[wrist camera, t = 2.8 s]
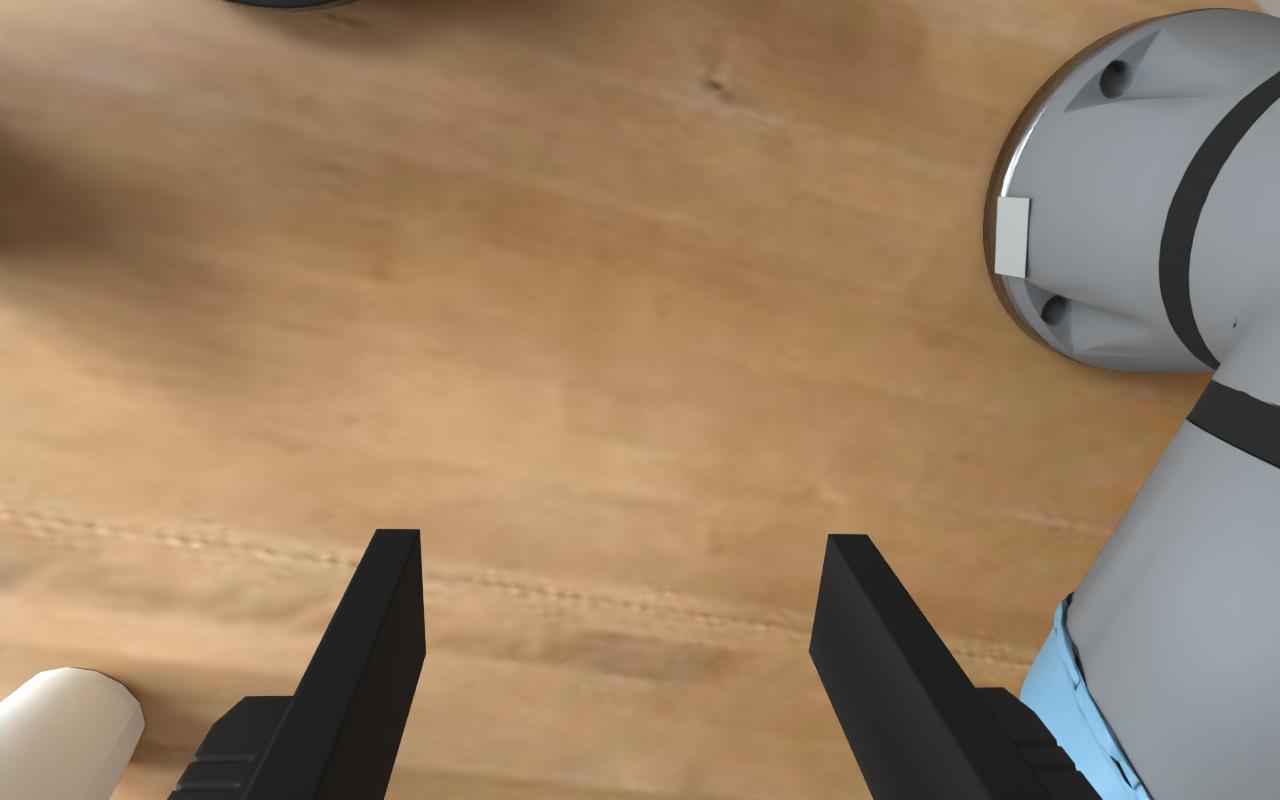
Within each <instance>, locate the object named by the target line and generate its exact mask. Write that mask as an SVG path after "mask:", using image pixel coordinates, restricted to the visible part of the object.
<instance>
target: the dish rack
mask: <svg viewBox="0 0 1280 800" xmlns="http://www.w3.org/2000/svg"><path fill="white" fill-rule="evenodd" d="M223 1H226V2H229V3H232V4H235V5H240V6H245V7H250V8H256V9H261V10H266V11H284V12H303V11H314V10H325V9H329V8H333V7H337V6H341V5H345V4H349V3H353V2H355V1H358V0H223Z"/></svg>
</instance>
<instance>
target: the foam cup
mask: <svg viewBox="0 0 1280 800" xmlns="http://www.w3.org/2000/svg"><path fill="white" fill-rule="evenodd" d="M144 727H145V721H144V717H143V714H142V710H141V706H140V703H139V702H138V701H137V700H136V699H135V697H134V696H133V695H132V694H131V693H130V692H129V691H128V690H127V689H126V688H125V686H124V685H123V684H121V683H119V682H117V681H115V680H113V679H111V678H109V677H107V676H105V675H103V674H101V673H99V672H97V671H91V670H84V669H77V668H70V667H64V668H60V669H55V670H50V671H46V672H41V673H39V674H37V675H36V676H35V677H33V678H32V679H31V680H29V681H28V682H26V683H25V684H24V685H23V686H21V687H20V688H19V689H18V690H16V691H15V692H14V693H12V694H11V695H10V696H9V697H7V698H6V699H5V700H3V701H2V702H1V703H0V800H109V799H110V798H111V796H112V794H113V792H114V790H115V788H116V786H117V784H118V782H119V780H120V778H121V776H122V774H123V772H124V770H125V768H126V767H127V765H128V763H129V761H130V759H131V757H132V755H133V753H134V750H135V747H136V746H137V744H138V742H139V740H140V737H141V734H142V732H143V729H144Z"/></svg>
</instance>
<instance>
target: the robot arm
mask: <svg viewBox="0 0 1280 800" xmlns="http://www.w3.org/2000/svg"><path fill="white" fill-rule="evenodd" d="M983 243H984V251H985V259H986V263H987V268H988V272H989V276H990V279H991V282H992V284H993V287H994V290H995V292H996V294H997V296H998V298H999V300H1000V302H1001V303H1002V305H1003V307H1004V308H1005V310H1006V311H1007V313H1008V314H1009V316H1010V317H1011V318H1012V319H1013V320H1014V322H1015V323H1016V324H1017V325H1018V326H1019V327H1020V328H1021V329H1022V330H1023V331H1024V332H1025V333H1026V334H1028V335H1029V336H1030V337H1031V338H1033V339H1034V340H1035V341H1037V342H1038V343H1040V344H1042V345H1044V346H1045V347H1047V348H1049V349H1051V350H1053V351H1055V352H1057V353H1059V354H1061V355H1064V356H1066V357H1068V358H1070V359H1072V360H1075V361H1077V362H1079V363H1082V364H1085V365H1088V366H1092V367H1096V368H1101V369H1106V370H1113V371H1120V372H1131V373H1193V374H1214V375H1213V377H1212V380H1211V381H1210V383H1209V384H1208V386H1207V387H1206V389H1205V391H1204V392H1203V394H1202V395H1201V397H1200V398H1199V400H1198V402H1197V403H1196V405H1195V406H1194V408H1193V409H1192V411H1191V413H1190V414H1189V415H1188V416H1187V418H1186V419H1185V421H1184V423H1183V424H1182V426H1181V427H1180V429H1179V430H1178V432H1177V433H1176V435H1175V437H1174V438H1173V440H1172V441H1171V443H1170V444H1169V446H1168V447H1167V449H1166V451H1165V452H1164V454H1163V455H1162V457H1161V458H1160V460H1159V461H1158V463H1157V465H1156V466H1155V468H1154V469H1153V471H1152V472H1151V474H1150V476H1149V477H1148V479H1147V480H1146V482H1145V483H1144V485H1143V486H1142V488H1141V490H1140V491H1139V493H1138V494H1137V496H1136V497H1135V499H1134V500H1133V502H1132V504H1131V505H1130V507H1129V508H1128V510H1127V511H1126V513H1125V514H1124V516H1123V518H1122V519H1121V521H1120V522H1119V524H1118V525H1117V527H1116V528H1115V530H1114V532H1113V533H1112V535H1111V536H1110V538H1109V539H1108V541H1107V542H1106V544H1105V546H1104V547H1103V549H1102V550H1101V552H1100V553H1099V555H1098V556H1097V558H1096V560H1095V561H1094V563H1093V564H1092V566H1091V567H1090V569H1089V570H1088V572H1087V574H1086V575H1085V577H1084V578H1083V580H1082V581H1081V583H1080V584H1079V586H1078V588H1077V589H1076V591H1075V592H1072V593H1070V594H1069V595H1068V596H1067V598H1066V599H1064V600H1062V601H1061V603H1060V604H1059V606H1058V607H1057V609H1056V613H1055V616H1054V627H1053V629H1052V631H1051V632H1050V634H1049V636H1048V638H1047V640H1046V641H1045V643H1044V645H1043V647H1042V649H1041V650H1040V652H1039V654H1038V656H1037V658H1036V659H1035V661H1034V663H1033V665H1032V667H1031V668H1030V670H1029V672H1028V674H1027V676H1026V678H1025V680H1024V683H1023V686H1022V689H1021V693H1020V699H1017V698H1016V697H1015V696H1014V695H1012V694H1011V693H1010V692H1008V691H1007V690H1006V689H1004V688H1003V687H997V688H975V687H974V686H973V684H972V683H971V681H970V680H969V678H968V677H967V676H966V674H965V673H964V671H963V670H962V668H961V667H960V666H959V664H958V663H957V661H956V660H955V659H954V657H953V656H952V654H951V653H950V651H949V650H948V649H947V647H946V646H945V644H944V643H943V642H942V640H941V639H940V637H939V636H938V634H937V633H936V632H935V630H934V629H933V627H932V626H931V625H930V623H929V622H928V620H927V619H926V617H925V616H924V615H923V613H922V612H921V610H920V609H919V608H918V606H917V605H916V603H915V602H914V600H913V599H912V598H911V596H910V595H909V593H908V592H907V590H906V589H905V588H904V586H903V585H902V583H901V582H900V581H899V579H898V578H897V576H896V575H895V573H894V572H893V571H892V569H891V568H890V566H889V565H888V564H887V562H886V561H885V559H884V558H883V556H882V555H881V554H880V552H879V551H878V549H877V548H876V547H875V545H874V544H873V542H872V541H871V539H870V538H869V537H868V535H866V534H828V540H827V546H826V552H825V558H824V564H823V570H822V576H821V582H820V588H819V594H818V600H817V606H816V612H815V618H814V624H813V630H812V636H811V642H810V648H809V653H810V655H811V658H812V660H813V662H814V665H815V667H816V669H817V671H818V674H819V676H820V678H821V681H822V683H823V685H824V687H825V690H826V692H827V694H828V697H829V699H830V701H831V703H832V706H833V708H834V710H835V713H836V715H837V717H838V719H839V722H840V724H841V726H842V729H843V731H844V733H845V735H846V738H847V740H848V742H849V745H850V747H851V749H852V751H853V754H854V756H855V758H856V761H857V763H858V765H859V767H860V770H861V772H862V774H863V777H864V779H865V781H866V783H867V786H868V788H869V790H870V793H871V795H872V797H873V799H874V800H1280V18H1278V17H1274V16H1271V15H1267V14H1263V13H1259V12H1254V11H1246V10H1236V9H1227V8H1208V9H1197V10H1190V11H1185V12H1180V13H1174V14H1169V15H1164V16H1159V17H1154V18H1149V19H1146V20H1142V21H1139V22H1136V23H1133V24H1130V25H1128V26H1125V27H1123V28H1121V29H1118V30H1116V31H1114V32H1112V33H1110V34H1108V35H1106V36H1104V37H1102V38H1101V39H1099V40H1097V41H1095V42H1094V43H1092V44H1091V45H1089V46H1088V47H1086V48H1085V49H1083V50H1082V51H1080V52H1079V53H1078V54H1076V55H1075V56H1074V57H1073V58H1071V59H1070V60H1069V61H1068V62H1066V63H1065V64H1064V65H1063V66H1062V67H1061V68H1060V69H1059V70H1058V71H1056V72H1055V73H1054V74H1053V75H1052V76H1051V77H1050V78H1049V79H1048V80H1047V82H1046V83H1045V84H1044V85H1043V86H1042V87H1041V88H1040V89H1039V90H1038V91H1037V93H1036V94H1035V95H1034V97H1033V98H1032V99H1031V100H1030V102H1029V103H1028V104H1027V106H1026V107H1025V108H1024V110H1023V111H1022V113H1021V114H1020V116H1019V118H1018V119H1017V121H1016V122H1015V124H1014V126H1013V127H1012V129H1011V131H1010V133H1009V135H1008V137H1007V138H1006V140H1005V142H1004V145H1003V147H1002V149H1001V151H1000V154H999V156H998V158H997V161H996V164H995V167H994V170H993V173H992V176H991V180H990V184H989V187H988V191H987V197H986V203H985V209H984V222H983ZM425 655H426V642H425V622H424V602H423V582H422V562H421V542H420V529H376V531H375V533H374V535H373V537H372V539H371V541H370V543H369V545H368V547H367V549H366V551H365V553H364V555H363V557H362V559H361V561H360V563H359V565H358V567H357V569H356V571H355V573H354V575H353V577H352V579H351V581H350V583H349V585H348V587H347V589H346V591H345V593H344V595H343V598H342V600H341V602H340V604H339V606H338V608H337V610H336V612H335V614H334V616H333V618H332V620H331V622H330V624H329V626H328V628H327V630H326V632H325V634H324V636H323V638H322V640H321V642H320V644H319V646H318V648H317V650H316V652H315V654H314V656H313V658H312V660H311V662H310V664H309V666H308V668H307V670H306V672H305V674H304V676H303V678H302V680H301V682H300V684H299V686H298V688H297V690H296V692H295V694H294V696H245V697H244V698H243V699H242V700H241V701H240V702H238V703H237V704H236V705H235V706H234V707H233V708H231V709H230V710H229V711H228V712H227V713H226V714H225V715H223V716H222V717H221V718H220V719H219V720H218V721H216V722H215V723H214V724H213V726H212V727H211V729H210V730H209V732H208V734H207V735H206V737H205V739H204V740H203V742H202V744H201V745H200V747H199V749H198V750H197V752H196V753H195V755H194V759H193V762H192V763H189V765H188V767H187V768H186V770H185V772H184V773H183V775H182V776H181V778H180V780H179V781H178V783H177V788H176V791H172V793H171V794H170V796H169V798H168V799H167V800H384V797H385V794H386V790H387V787H388V783H389V780H390V777H391V773H392V770H393V766H394V763H395V759H396V756H397V752H398V749H399V745H400V742H401V738H402V735H403V731H404V728H405V725H406V721H407V718H408V714H409V711H410V707H411V704H412V700H413V697H414V693H415V690H416V686H417V683H418V679H419V676H420V673H421V669H422V666H423V662H424V659H425Z"/></svg>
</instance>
